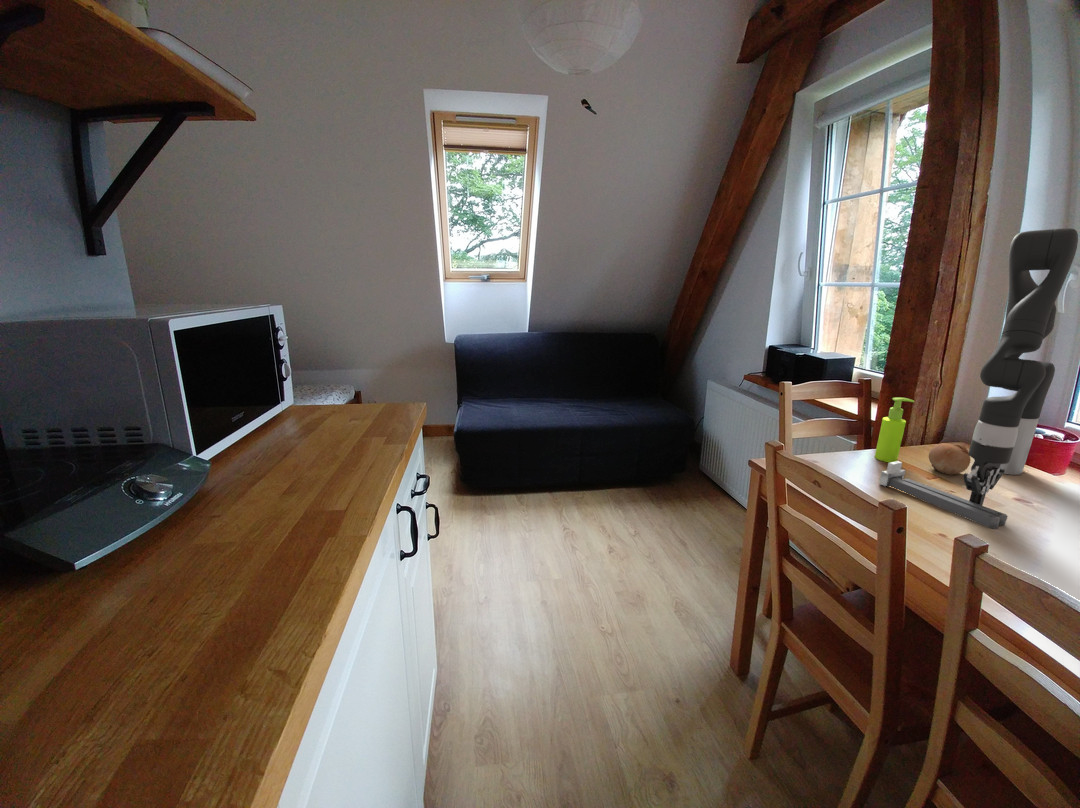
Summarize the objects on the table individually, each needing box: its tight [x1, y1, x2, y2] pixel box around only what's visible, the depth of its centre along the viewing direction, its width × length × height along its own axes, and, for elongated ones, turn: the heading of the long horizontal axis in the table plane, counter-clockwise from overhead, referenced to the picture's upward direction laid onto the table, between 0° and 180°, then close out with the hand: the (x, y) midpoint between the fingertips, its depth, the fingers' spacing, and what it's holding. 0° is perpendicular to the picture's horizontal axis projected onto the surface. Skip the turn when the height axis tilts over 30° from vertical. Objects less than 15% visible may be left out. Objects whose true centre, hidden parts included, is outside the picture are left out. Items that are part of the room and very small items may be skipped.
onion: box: [928, 442, 971, 476], centre depth 142 cm, size 10×9×10 cm
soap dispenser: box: [874, 397, 916, 463], centre depth 150 cm, size 6×7×20 cm
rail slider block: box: [878, 460, 906, 487], centre depth 134 cm, size 2×7×6 cm, turn 112°
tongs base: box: [887, 476, 1000, 530], centre depth 124 cm, size 26×5×2 cm, turn 22°
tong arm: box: [903, 477, 1009, 526], centre depth 123 cm, size 22×2×2 cm, turn 24°
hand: (975, 505), depth 120 cm, fingers closed
